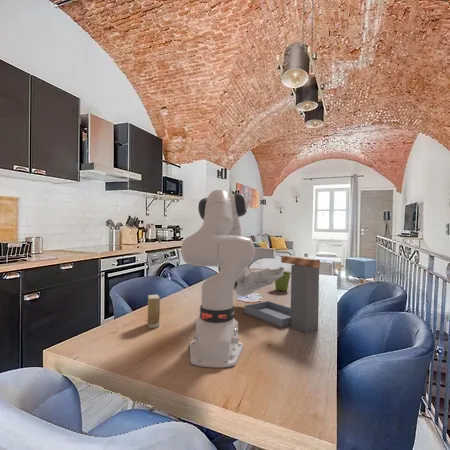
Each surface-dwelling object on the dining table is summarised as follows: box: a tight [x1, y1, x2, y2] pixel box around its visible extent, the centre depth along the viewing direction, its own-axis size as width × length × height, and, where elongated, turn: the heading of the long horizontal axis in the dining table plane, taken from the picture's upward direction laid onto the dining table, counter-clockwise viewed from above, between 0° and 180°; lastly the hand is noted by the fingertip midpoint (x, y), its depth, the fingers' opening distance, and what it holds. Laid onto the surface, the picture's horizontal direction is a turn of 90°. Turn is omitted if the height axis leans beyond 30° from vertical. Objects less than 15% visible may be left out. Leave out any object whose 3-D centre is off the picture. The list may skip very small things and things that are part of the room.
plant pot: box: [274, 271, 291, 292], centre depth 190 cm, size 12×12×11 cm
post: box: [289, 264, 320, 333], centre depth 122 cm, size 8×8×26 cm
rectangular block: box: [280, 255, 321, 268], centre depth 125 cm, size 18×3×3 cm, turn 37°
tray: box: [243, 300, 291, 328], centre depth 136 cm, size 24×16×4 cm, turn 37°
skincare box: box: [146, 294, 161, 329], centre depth 122 cm, size 6×4×12 cm
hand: (275, 268), depth 136 cm, fingers open, 8 cm apart
